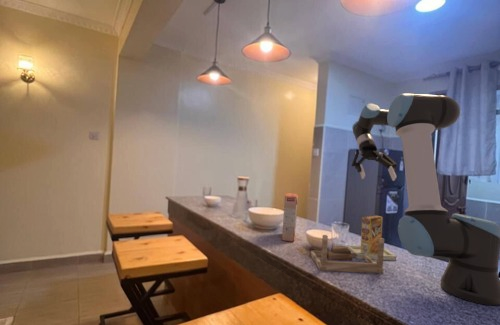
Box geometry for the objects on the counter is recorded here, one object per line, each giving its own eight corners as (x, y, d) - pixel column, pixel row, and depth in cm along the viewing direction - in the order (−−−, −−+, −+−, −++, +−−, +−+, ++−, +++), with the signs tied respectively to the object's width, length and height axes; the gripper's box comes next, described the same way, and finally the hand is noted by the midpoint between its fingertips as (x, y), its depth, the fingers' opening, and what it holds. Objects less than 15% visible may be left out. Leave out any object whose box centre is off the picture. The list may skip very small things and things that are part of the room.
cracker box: (294, 242, 127) (297, 196, 127) (281, 241, 128) (284, 195, 128) (295, 234, 141) (298, 193, 140) (283, 233, 142) (286, 192, 141)
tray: (396, 260, 110) (396, 256, 110) (357, 258, 110) (357, 254, 110) (382, 250, 122) (382, 246, 122) (346, 248, 121) (346, 245, 121)
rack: (383, 273, 96) (385, 239, 96) (320, 270, 96) (322, 235, 96) (363, 257, 112) (365, 227, 112) (310, 254, 112) (311, 224, 112)
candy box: (369, 256, 112) (371, 218, 111) (359, 253, 115) (361, 216, 115) (381, 253, 117) (383, 216, 116) (371, 250, 120) (373, 214, 120)
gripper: (388, 152, 140) (403, 184, 125) (339, 149, 139) (348, 181, 124) (395, 140, 134) (411, 173, 119) (343, 138, 134) (353, 170, 119)
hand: (379, 178), depth 122 cm, fingers open, 13 cm apart
